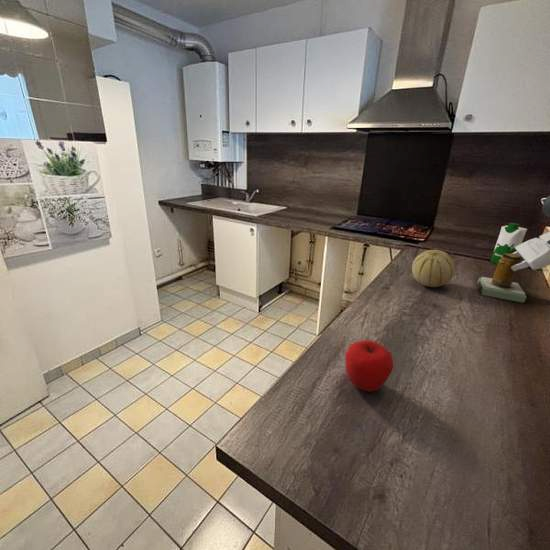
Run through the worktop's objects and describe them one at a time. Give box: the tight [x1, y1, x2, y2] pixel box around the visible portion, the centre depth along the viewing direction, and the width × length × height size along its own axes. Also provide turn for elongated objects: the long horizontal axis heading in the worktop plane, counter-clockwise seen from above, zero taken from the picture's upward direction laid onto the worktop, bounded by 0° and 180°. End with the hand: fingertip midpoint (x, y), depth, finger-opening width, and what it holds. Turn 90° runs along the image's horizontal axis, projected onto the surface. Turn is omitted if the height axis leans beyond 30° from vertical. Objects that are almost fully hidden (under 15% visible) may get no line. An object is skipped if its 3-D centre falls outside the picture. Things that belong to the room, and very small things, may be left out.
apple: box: [344, 339, 394, 393], centre depth 63 cm, size 10×10×11 cm
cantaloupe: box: [411, 249, 456, 288], centre depth 114 cm, size 15×15×15 cm
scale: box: [477, 276, 527, 304], centre depth 112 cm, size 13×12×3 cm
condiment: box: [486, 253, 521, 290], centre depth 109 cm, size 7×8×12 cm
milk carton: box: [490, 222, 528, 265], centre depth 141 cm, size 9×9×20 cm
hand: (509, 264), depth 109 cm, fingers open, 8 cm apart
